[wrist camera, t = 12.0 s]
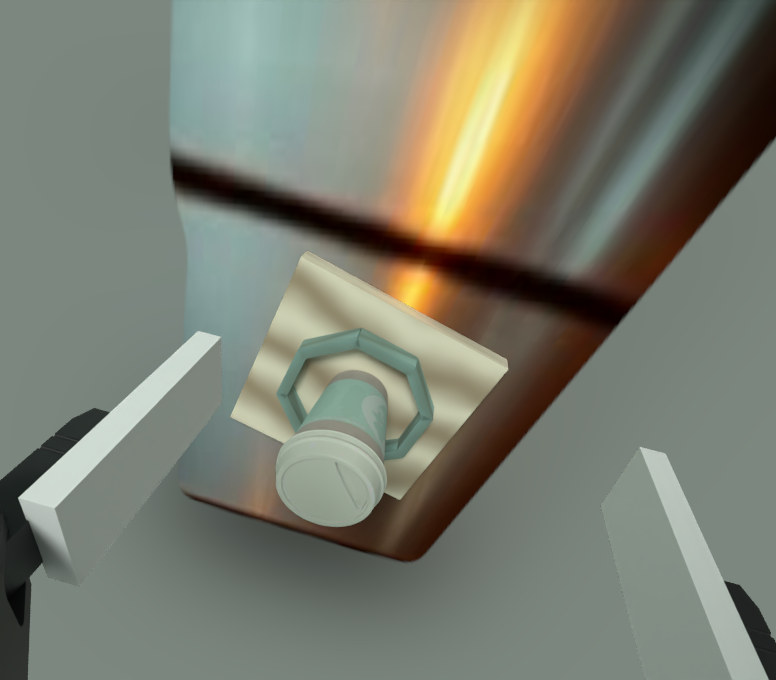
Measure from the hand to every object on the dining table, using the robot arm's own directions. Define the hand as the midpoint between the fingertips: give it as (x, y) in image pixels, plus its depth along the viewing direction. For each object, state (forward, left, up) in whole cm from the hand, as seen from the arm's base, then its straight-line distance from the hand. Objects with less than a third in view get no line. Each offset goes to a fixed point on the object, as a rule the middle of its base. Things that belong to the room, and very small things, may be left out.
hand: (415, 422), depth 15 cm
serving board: (+12, +14, -25) cm, 31 cm away
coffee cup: (+12, +14, -24) cm, 30 cm away
